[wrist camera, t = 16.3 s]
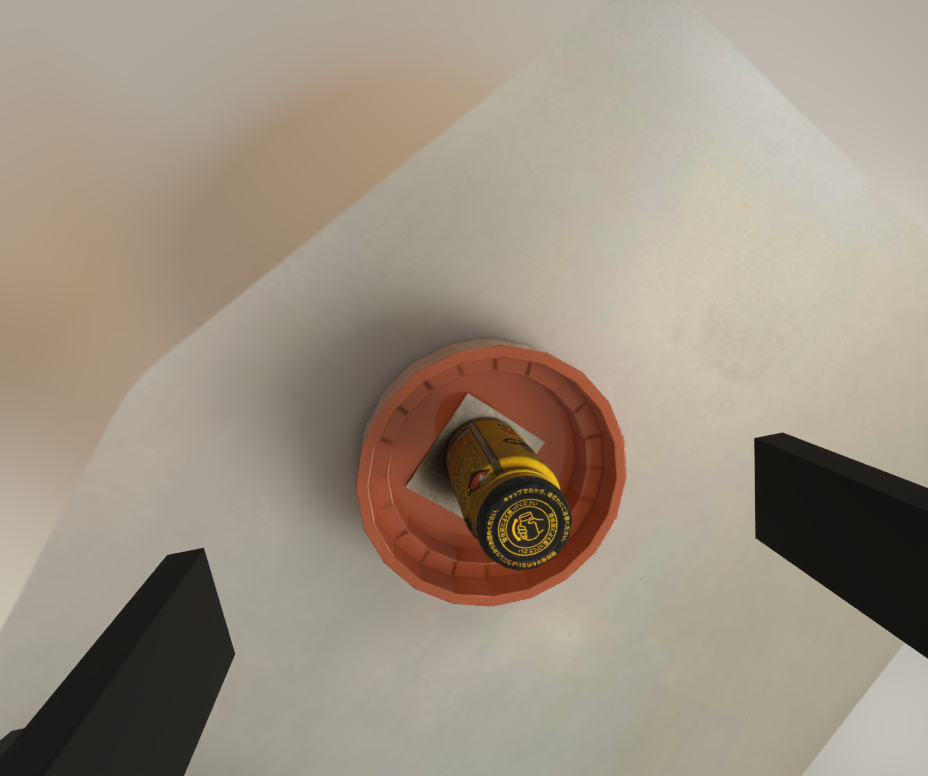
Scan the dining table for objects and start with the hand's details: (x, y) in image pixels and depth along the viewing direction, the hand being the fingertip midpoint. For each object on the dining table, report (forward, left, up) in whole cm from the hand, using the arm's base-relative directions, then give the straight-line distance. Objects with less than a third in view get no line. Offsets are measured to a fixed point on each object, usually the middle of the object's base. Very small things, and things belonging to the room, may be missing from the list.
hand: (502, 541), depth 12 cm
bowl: (+8, +3, -26) cm, 27 cm away
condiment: (+8, +3, -25) cm, 26 cm away
